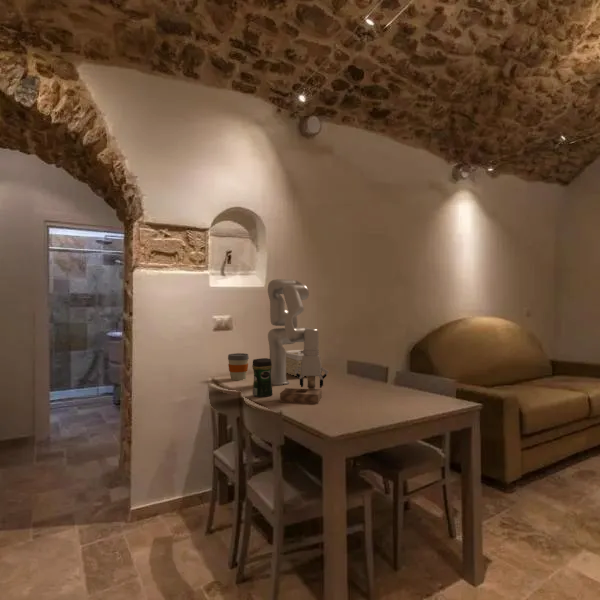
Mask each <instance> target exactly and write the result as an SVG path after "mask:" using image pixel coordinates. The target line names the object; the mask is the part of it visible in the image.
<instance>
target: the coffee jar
mask: <svg viewBox="0 0 600 600" xmlns="http://www.w3.org/2000/svg"><path fill="white" fill-rule="evenodd" d="M251 368H252V369H253V382H252V395H253V397H259V398H263V397H270V396H272V395H273V385H272V384H271V368H272V363H271V359H270V358H268V357H265V358H263V357H262V358H255V359H253V360H252V367H251Z"/></svg>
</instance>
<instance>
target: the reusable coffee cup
mask: <svg viewBox="0 0 600 600" xmlns="http://www.w3.org/2000/svg"><path fill="white" fill-rule="evenodd" d="M249 359H250V358H249V353H241V352H240V353H239V352H237V353H229V354H228V355H227V361H228V365H227V366H228V372H229V374H230V381H244V380H243V379H245V380H246V379H247V372H248V368H249Z"/></svg>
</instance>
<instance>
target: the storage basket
mask: <svg viewBox="0 0 600 600" xmlns="http://www.w3.org/2000/svg"><path fill="white" fill-rule="evenodd" d="M303 350H304V349H291V350H285V351H286V374H287V373H288V375H290V374H291V375H290V376H292V375H294V376H293V377H295V376H297V375H296V373H295V370H296V369H298V368H300V367H301V361H302V356H303V355H304V354H303V353H301V351H303ZM298 373H299V374H300V375H301V370H299V371H298ZM303 378H305V377H304V376H303Z"/></svg>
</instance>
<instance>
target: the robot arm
mask: <svg viewBox="0 0 600 600" xmlns="http://www.w3.org/2000/svg"><path fill="white" fill-rule="evenodd" d="M309 291H310V290H309V288H308V287H307V285H306V284H305V283H302V282H301V281H298V280H297V279H283V278H281V279H279V278H277V279H272V280H270V281H269V283H268V285H267V294H268V299H269V316H270V317H269V318H270V319H269V321H270V323H271V325H272V326H275V328H272V329H270V330H269V331H268V332H267V340H268V345H269V347H268V348H269V349H268V350H269V359H271V363H272V368H271V384H272V386H284V385H288V384H289V383H290V381H289V380H288V379H287V373H286V351H287V350H286V349H285V348H284V347H283V345H294V344H295V343H303V349H302V350H303V351H301V353H303V354H304V355H303V356H302V361H301V367H300V368H298V369H296V370H295V373H296V375H297V377H296V378H297V379H299V386H300V388H303V387H304V377H303V376H315V377H319V388H320V389H321V388H322V387H323V386H324V379H325V378H326V377H327V375H328V374H329V370H328V369H326V368H324V367H322V360H321V356H320V353H319V352H320V351H319V350H320V349H319V348H320V345H319V344H320V339H319V338H320V335H319V333H320V331H319V329H318V328H311V327H308V326H307V327H298V316H299V315H301V314H302V313H303V312H304V310H305V307H304V304H303V300H304V301H305V300H307V299H308V298H309V296H310V292H309ZM282 295H283V296H284V297H283V296H282ZM285 303H286V305H285ZM282 326H283V327H282ZM279 327H280V328H279ZM299 370H301V375H300V374H299V373H298V371H299ZM322 371H323V372H324V375H322ZM283 384H284V385H283Z"/></svg>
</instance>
